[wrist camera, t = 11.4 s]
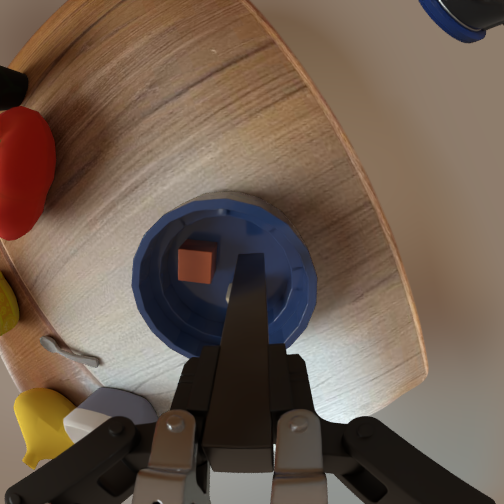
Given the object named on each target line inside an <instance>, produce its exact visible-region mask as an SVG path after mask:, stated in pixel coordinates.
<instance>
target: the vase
mask: <svg viewBox="0 0 504 504" xmlns="http://www.w3.org/2000/svg"><path fill="white" fill-rule="evenodd" d="M75 408H76V406H75V405H74V404H73V403H72V402H71V401H69V400H68V399H67V398H66V397H64V396H63V395H61V394H60V393H58V392H56V391H54V390H51V389H46V388H33V389H30V390H27V391H25V392H23V393H20V395H19V396H18V397H17V398H16V400H15V403H14V411H15V414H16V417H17V420H18V423H19V425H20V428H21V431H22V434H23V436H24V439H25V442H26V446H27V453H26V455H25V456H24V458H23V460H22V461H23V462H24V463H25V464H26V465H28V466H29V467H30V468H32V469H33V470H35V468H36V466H37V464H38V462H39V461H40V460H43V459H54V458H55V457H57V456H58V455H60V454H61V453H62V452H64V451H65V450H67V449H68V448H69V447H71V446H72V445H74V443H73V441H72V440H71V439H70V437H69V436H68V434H67V432H66V431H65V428H64V423H63V421H64V418H65V417H66V416H67V415H68V414H70V413H71V412H72V411H73V410H74V409H75Z"/></svg>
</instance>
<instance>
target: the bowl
mask: <svg viewBox="0 0 504 504" xmlns="http://www.w3.org/2000/svg"><path fill="white" fill-rule="evenodd" d="M115 416H124V417H127V418H129V419H131V420H132V421H133V423H134V424H135V425H137V424H146V423H153V422H156V421H157V420H158V416H157V414H156V412H155V410H154V409H153V407H152V406H151V404H150V403H149V402H148V401H147V400H146V399H145V398H143V397H140V396H138V395H135V394H132V393H129V392H126V391H122V390H118V389H113V388H104V387H102V388H98V389H97V390H96V391H95V392H94V393H93V394H92V395H90V396H89V397H88V398H87V399H86V400H85V401H84V402H82V403H81V404H80V405H79V406H78V407H77V408H75V409H74V410H73V411H72V412H71V413H70V414H68V415H67V416H66V417H65V418H64V421H63V423H64V428H65V431H66V432H67V434H68V436H69V437H70V439H71V440H72V441H73V443H74V444H75V443H76V442H78V441H79V440H81V439H82V438H83V437H85V436H86V435H87V434H89V433H90V432H92V431H93V430H94V429H96V428H97V427H98V426H100V425H101V424H102V423H104V422H105V421H106V420H108V419H109V418H111V417H115Z"/></svg>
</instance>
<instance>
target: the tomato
mask: <svg viewBox="0 0 504 504" xmlns="http://www.w3.org/2000/svg"><path fill="white" fill-rule="evenodd" d="M55 166H56V151H55V141H54V138H53V135H52V133H51V130H50V127H49V125H48V123H47V122H46V121H45V119H44V118H43V117H42V116H41V115H40V114H39V112H37V111H34V110H31V109H29V108H26V107H23V106H18V107H13V108H11V109H9V110H7V111H5V112H3V113H1V114H0V237H1V238H3V239H5V240H8V241H10V240H16V239H18V238H20V237H22V236H23V235H25V234H26V233H28V232H29V231H30V230H31V229H32V228H33V226H34V225H35V223H36V222H37V220H38V219H39V217H40V216H41V214H42V213H43V210H44V205H45V200H46V195H47V193H48V190H49V188H50V186H51V184H52V182H53V180H54V174H55Z"/></svg>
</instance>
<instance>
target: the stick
mask: <svg viewBox="0 0 504 504" xmlns="http://www.w3.org/2000/svg"><path fill="white" fill-rule="evenodd" d="M268 344H269V333H268V314H267V295H266V277H265V260H264V253H250V254H238V258H237V263H236V268H235V272H234V277H233V282H232V287H231V292H230V297H229V302H228V307H227V312H226V317H225V322H224V327H223V332H222V337H221V342H220V350H219V356H218V361H217V366H216V372H215V377H214V382H213V388H212V393H211V399H210V404H209V410H208V413H207V415H206V421H205V426H204V432H203V437H202V443H201V446H202V449H203V451H204V453H205V455H206V457H207V459H208V462H209V464H210V466H211V468H212V470H213V471H214V472H232V473H265V472H273V471H274V456H273V455H274V453H273V424H272V413H270V387H269V362H268Z"/></svg>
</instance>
